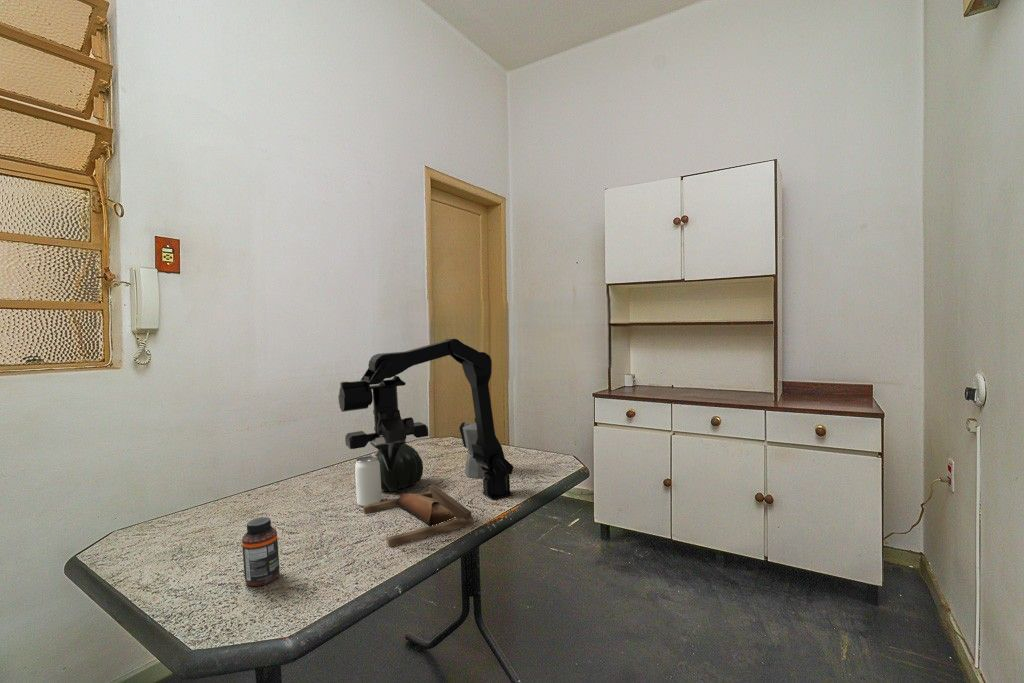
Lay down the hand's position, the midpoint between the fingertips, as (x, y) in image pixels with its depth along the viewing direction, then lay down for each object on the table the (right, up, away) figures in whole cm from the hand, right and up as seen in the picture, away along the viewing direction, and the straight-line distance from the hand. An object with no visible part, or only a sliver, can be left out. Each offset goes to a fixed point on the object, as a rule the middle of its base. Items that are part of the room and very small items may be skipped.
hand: (389, 470), depth 114 cm
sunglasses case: (+8, -13, +6) cm, 16 cm away
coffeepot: (+18, -11, +36) cm, 42 cm away
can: (-9, -13, +15) cm, 22 cm away
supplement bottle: (-18, -14, -24) cm, 33 cm away
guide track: (+6, -12, +3) cm, 14 cm away
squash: (-5, -12, +27) cm, 30 cm away
